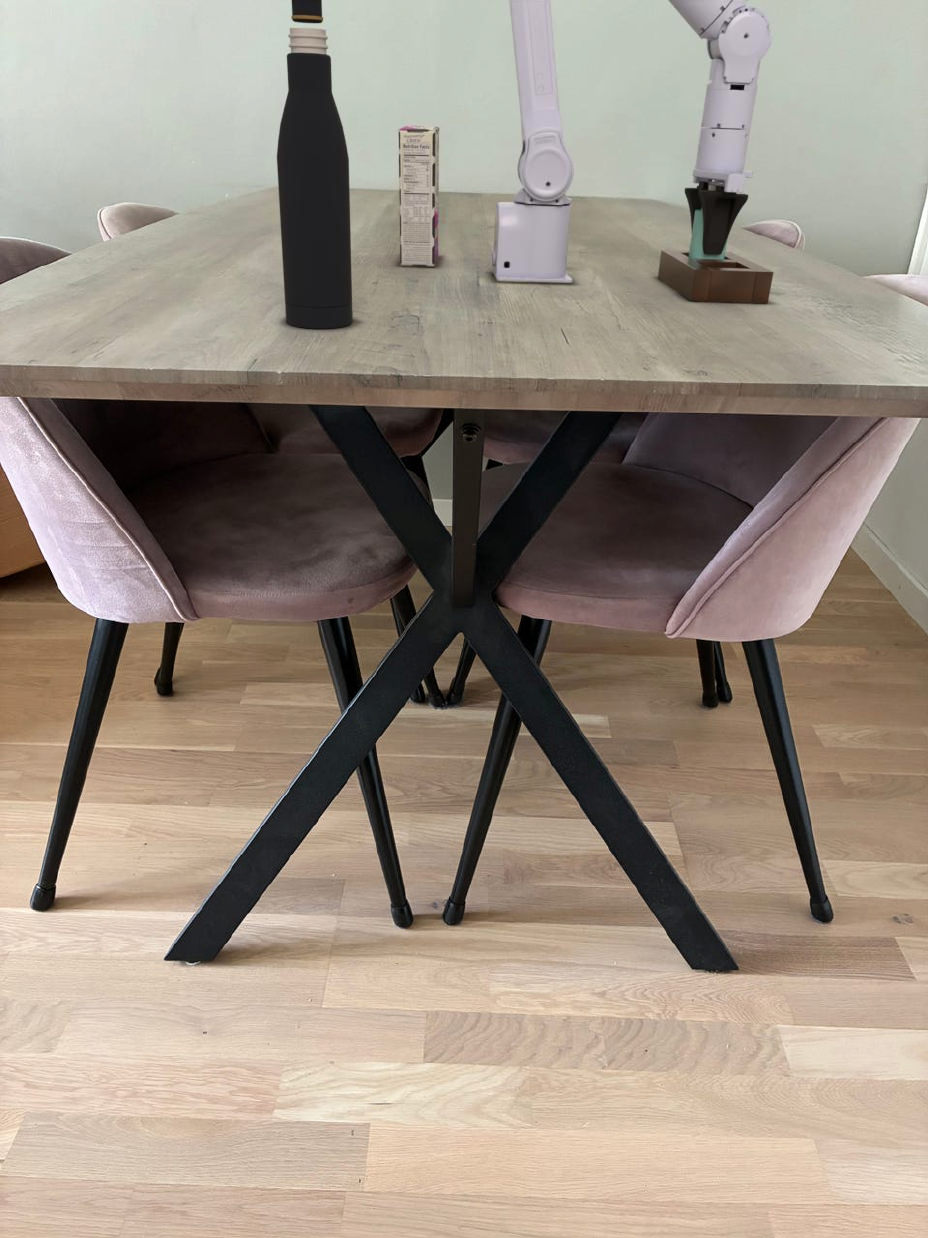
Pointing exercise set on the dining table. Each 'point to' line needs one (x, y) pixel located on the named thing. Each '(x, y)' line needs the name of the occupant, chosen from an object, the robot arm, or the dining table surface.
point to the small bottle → (701, 237)
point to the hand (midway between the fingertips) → (706, 251)
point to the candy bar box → (419, 195)
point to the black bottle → (313, 184)
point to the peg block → (715, 278)
